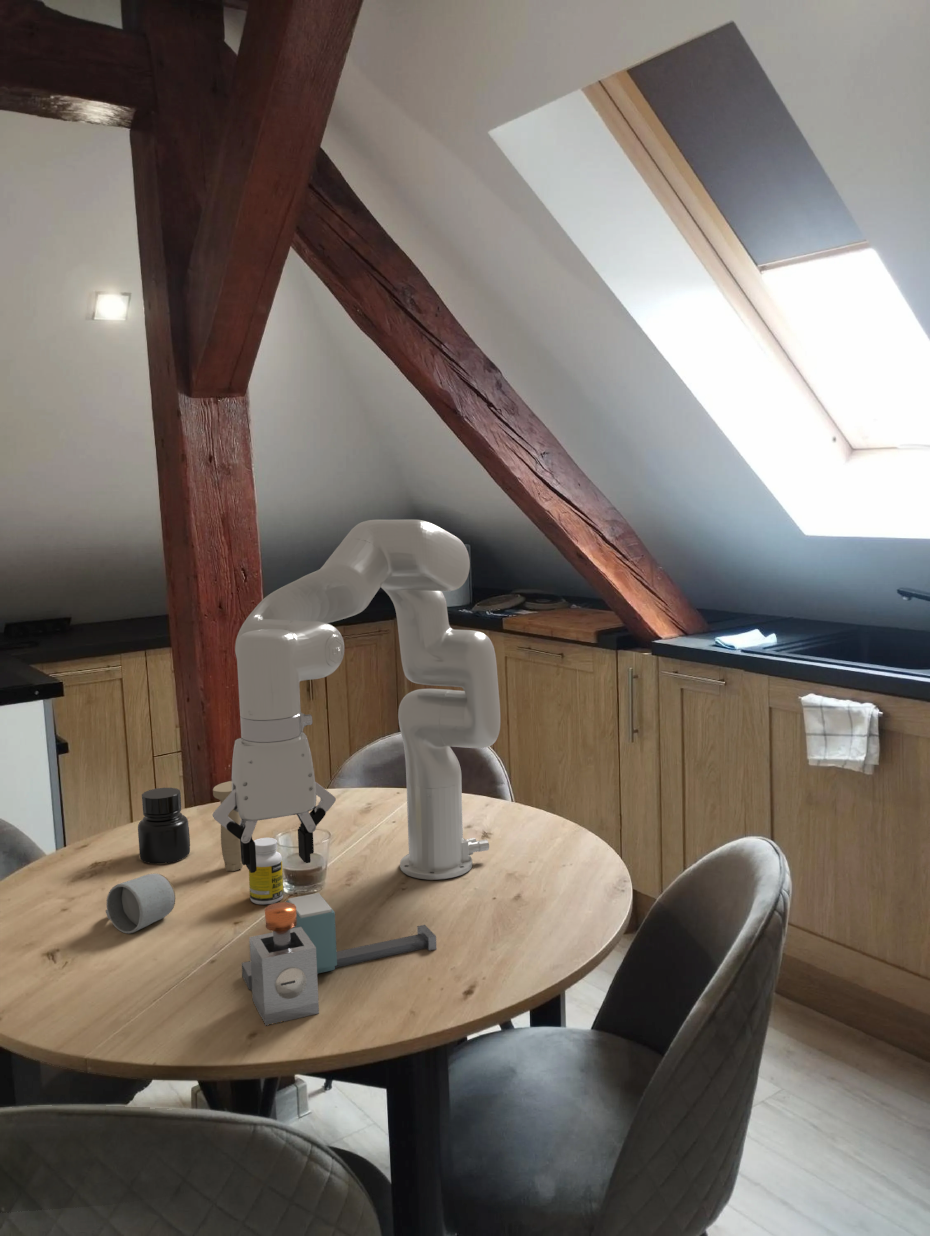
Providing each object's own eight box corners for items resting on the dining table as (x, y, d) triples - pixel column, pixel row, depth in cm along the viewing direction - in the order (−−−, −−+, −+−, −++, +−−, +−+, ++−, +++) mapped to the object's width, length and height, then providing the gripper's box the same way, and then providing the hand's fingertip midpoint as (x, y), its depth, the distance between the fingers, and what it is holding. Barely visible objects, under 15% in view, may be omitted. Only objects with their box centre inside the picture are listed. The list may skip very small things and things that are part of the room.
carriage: (322, 953, 157) (320, 891, 155) (337, 973, 150) (334, 909, 149) (289, 960, 155) (285, 898, 153) (302, 981, 148) (299, 916, 147)
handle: (212, 874, 189) (207, 790, 187) (231, 861, 195) (226, 780, 193) (237, 876, 187) (232, 792, 185) (255, 863, 193) (250, 781, 191)
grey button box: (304, 990, 146) (301, 926, 145) (319, 1014, 140) (316, 948, 138) (252, 1001, 143) (249, 937, 142) (266, 1027, 137) (262, 960, 136)
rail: (425, 937, 162) (424, 924, 161) (436, 949, 158) (436, 936, 157) (242, 976, 151) (241, 963, 150) (249, 990, 147) (248, 976, 146)
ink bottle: (200, 849, 201) (196, 786, 200) (179, 866, 193) (175, 801, 191) (151, 847, 203) (147, 785, 201) (129, 864, 194) (124, 799, 193)
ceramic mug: (181, 918, 171) (177, 871, 170) (142, 938, 164) (138, 889, 163) (132, 907, 176) (128, 861, 175) (92, 926, 169) (88, 879, 168)
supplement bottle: (276, 906, 174) (273, 848, 173) (245, 904, 175) (241, 846, 174) (288, 893, 179) (285, 836, 178) (257, 891, 181) (254, 835, 179)
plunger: (294, 957, 144) (291, 900, 142) (302, 970, 140) (299, 911, 139) (264, 964, 142) (261, 905, 141) (272, 976, 138) (268, 917, 137)
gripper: (328, 714, 143) (334, 844, 146) (196, 730, 136) (204, 866, 139) (346, 726, 136) (351, 862, 139) (207, 743, 130) (216, 886, 132)
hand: (278, 863), depth 139 cm, fingers open, 6 cm apart
